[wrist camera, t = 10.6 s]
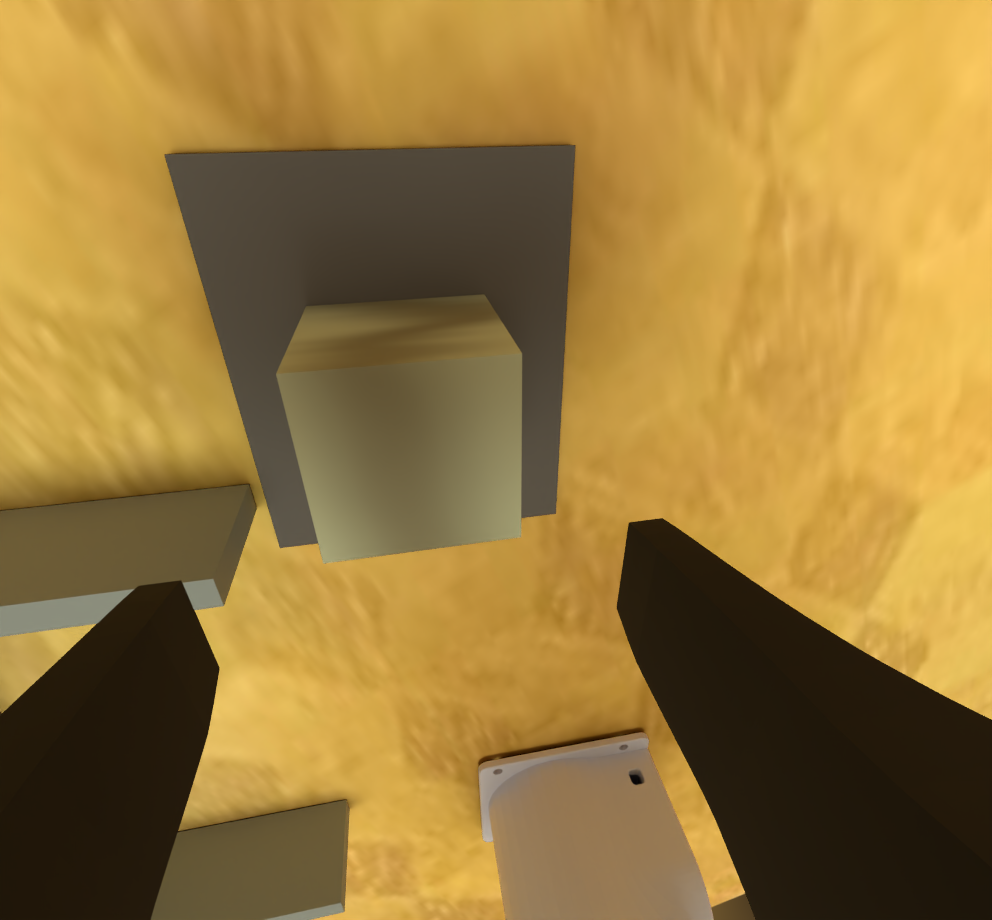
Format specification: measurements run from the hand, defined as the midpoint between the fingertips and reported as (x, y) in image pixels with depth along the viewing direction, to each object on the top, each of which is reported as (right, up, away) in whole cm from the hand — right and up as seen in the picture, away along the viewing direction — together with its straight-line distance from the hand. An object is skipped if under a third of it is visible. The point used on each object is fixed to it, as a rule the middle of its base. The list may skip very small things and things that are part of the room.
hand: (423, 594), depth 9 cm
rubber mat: (-2, +5, +8) cm, 9 cm away
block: (-2, +5, +8) cm, 9 cm away
